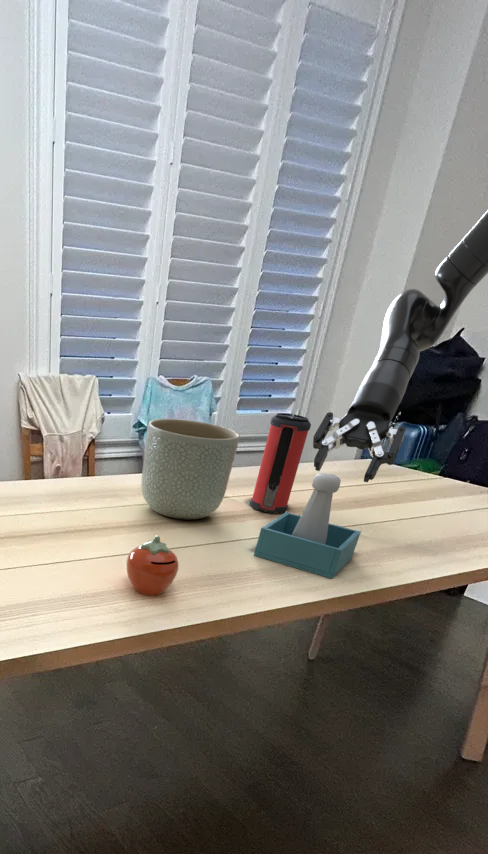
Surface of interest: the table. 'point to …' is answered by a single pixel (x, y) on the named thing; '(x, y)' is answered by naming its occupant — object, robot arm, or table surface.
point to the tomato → (152, 567)
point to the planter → (187, 467)
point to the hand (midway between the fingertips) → (341, 473)
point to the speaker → (280, 462)
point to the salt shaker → (318, 509)
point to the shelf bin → (306, 546)
